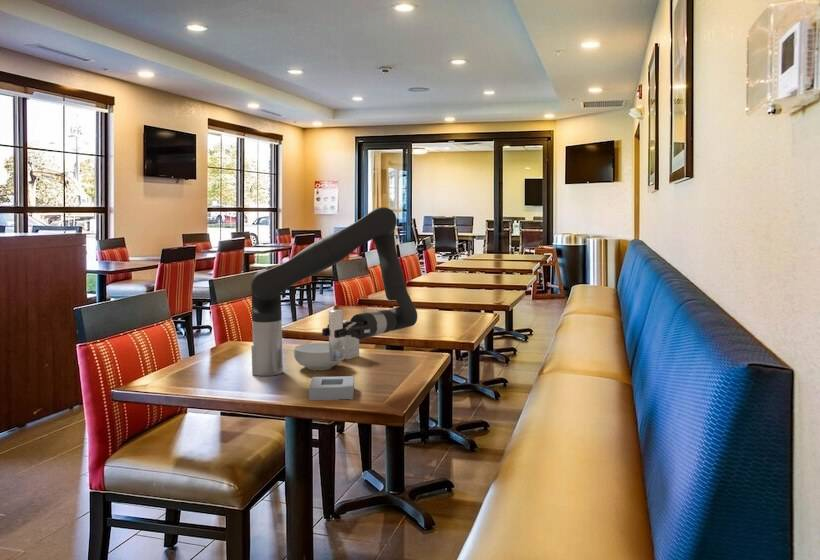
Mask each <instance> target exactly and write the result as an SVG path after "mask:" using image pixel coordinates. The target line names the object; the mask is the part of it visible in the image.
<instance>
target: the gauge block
mask: <svg viewBox="0 0 820 560" xmlns="http://www.w3.org/2000/svg"><path fill="white" fill-rule="evenodd" d="M354 389H355V376H353V375H352V376H351V375H350V376H349V375H348V376H345V375H344V376H343V375H341V376H312V378H311V380H310V384H309V387H308V400H309V401H335V400H336V401H340V400H339V399H351V400H354V391H355V390H354Z"/></svg>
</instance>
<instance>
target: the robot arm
mask: <svg viewBox="0 0 820 560" xmlns="http://www.w3.org/2000/svg"><path fill="white" fill-rule="evenodd" d="M396 227H397V216H396V214H395V212H394V211H393V210H392V209H390V208H389V207H382V206H381V207H377V208H375V209H373V210H371V211H370V212H369V213H367V214H366V215H364V216H363V217H362V218H361V217H360V219H358V220H357V221H355V222H353V223H352V224H350V225H347V226H345V227H344V228H342V229H341V228H340V229H339V230H337V231H334V232H333V233H331V234H328V235H326V236H324V237H323V238H321V239H318V240H316V241H315V242H313V243H311V244H309V245H308V246H306V247H305V248H304V249H302V250H301V251H299V252H298V253H297V254H295V255H294V256H293V257H292V258H290V259H289V260H286V261H284V262H283V263H281V264H278V265H276V266H275V267H272V268H270V269H261V270H259V271H256V273H255V274H253V276H252V277H251V281H250V290H251V325H252V327H251V328H252V345H251V373H252V375H253V376H260V377H267V376H268V377H269V376H276V375H281V374H282V373H283V372H284V371H283V370H284V365H283V362H284V361H283V360H284V359H283V324H282V323H283V321H282V318H283V317H282V314H283V313H282V293H283V292H284V291H286V290H287V289H289V288H291V287H292V286H294V285H295V284H297V283H299V282H301V281H303V280H304V279H305V280H306V279H308V278H309V277H312V276H314V275H317V274H319V273H321V272H322V271H325V270H326V269H327V270H328V269H329V268H330V267H333V266H335V265H336V264H338V263H340V262H341V261H343V260H345V259H346V258H347V257H348V256H349V255H351V254H352V253H353V252H354V251H355V250H357V249H358V248H359V247H361V246H362V245H364V244H366V243H368V242H370V241H373V243H374V245H375V249H376V252H377V255H378V261H379V267H380V273H381V279H382V283H383V284H382V285H383V288H384V294H385V297H386V299H387V300H388V301H391V302H392V301H396V303H397V304H398V306H397V307H393V308H390V309H382V310H376V311H374V310H373V311H367V312H362V313H357V314H355V315H353V316H352V317H351V318H350V320H346V321H345V322H343V329H338V330H335V331H334V337H335V338H340V337H344V336H345V337H355V338H357V339H359V340H364V339H368V338H372V337H373V338H374V337H377V336H379V335H381V334H386V333H388V332H392V331H397V330H401V329H406V328H410V327H413V326H415V324H416V323H417V322H418V311H417V309H416V307H415V305H414V302H413V301H412V298H411V297H410V295H409V292H408V290H407V285H406V280H405V276H404V275H405V274H404V272H403V268H402V265H401V263H400V259H399V256H398V252H397V246H396V241H395V240H396V239H395V235H396V234H395V230H396ZM321 333H322V334H321V336H322V337H327V336H328V337H329V324H327V326H326V327H324V328H322V330H321Z"/></svg>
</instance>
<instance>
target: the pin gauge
mask: <svg viewBox="0 0 820 560" xmlns="http://www.w3.org/2000/svg"><path fill="white" fill-rule="evenodd" d="M343 320H344V311H343V310H342V309H330V310H328V325H329V336H328V343H329V360H330V361H341V362H342V361H343V360H345V359H344V356H343V337H340V338H335V337H334V331H335V330H338V329H343Z"/></svg>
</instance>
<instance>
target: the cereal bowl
mask: <svg viewBox="0 0 820 560" xmlns="http://www.w3.org/2000/svg"><path fill="white" fill-rule="evenodd" d="M344 351H345V348H344V346H343V356H344ZM293 355H294V359H295V361H296V362H297V363H298V365H300V366H303V367H305V368H306V369H308V370H309V369H310V370H309V371H316V370H319V371H325V370H326V371H327V370H330V369H332V367H334V366H337V365H338V364H340V363H341V362H342V361H330V360H329V342H315V343H304V344H299V345H296V346H295V347H293Z"/></svg>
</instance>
